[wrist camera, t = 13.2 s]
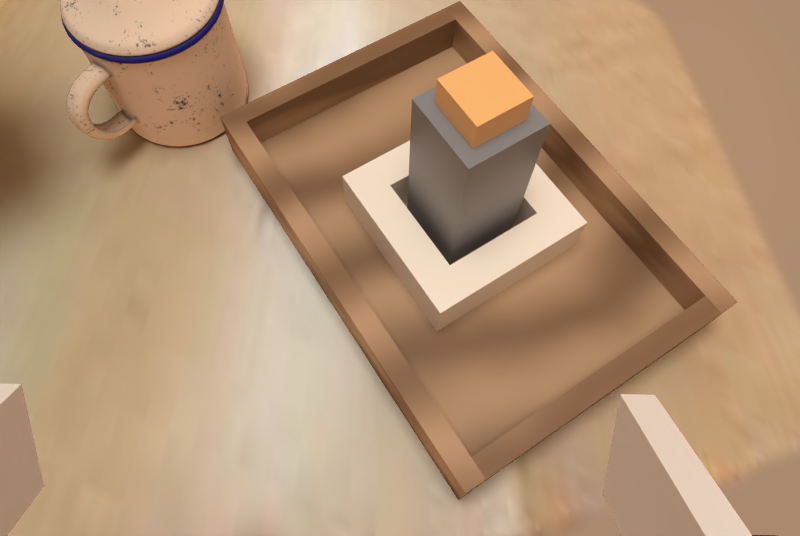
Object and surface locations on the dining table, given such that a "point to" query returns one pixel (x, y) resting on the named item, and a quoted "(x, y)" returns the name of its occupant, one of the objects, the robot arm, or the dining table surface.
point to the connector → (472, 155)
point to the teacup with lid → (156, 67)
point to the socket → (476, 272)
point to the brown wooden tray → (506, 311)
